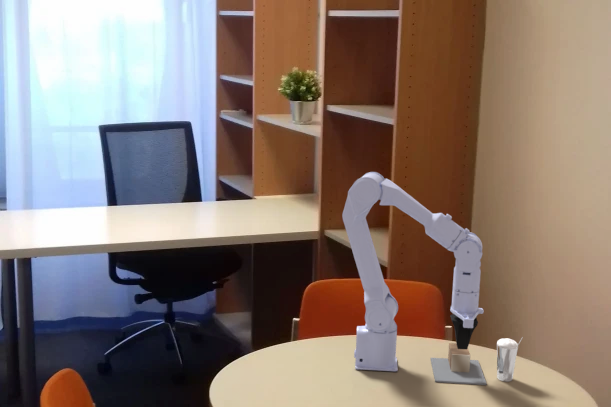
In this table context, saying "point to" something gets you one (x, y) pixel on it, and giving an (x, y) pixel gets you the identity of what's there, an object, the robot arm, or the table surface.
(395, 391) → the table surface
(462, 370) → the walnut block
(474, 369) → the mat
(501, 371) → the milkshake
